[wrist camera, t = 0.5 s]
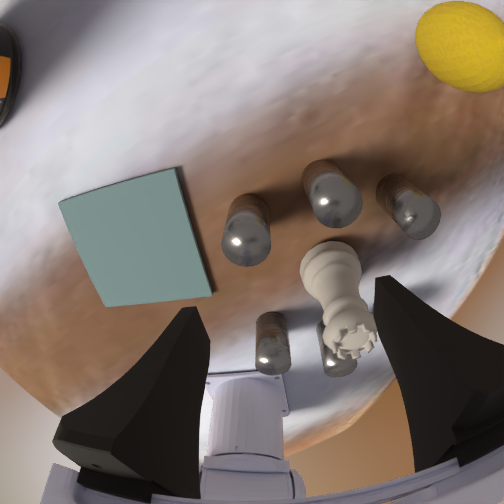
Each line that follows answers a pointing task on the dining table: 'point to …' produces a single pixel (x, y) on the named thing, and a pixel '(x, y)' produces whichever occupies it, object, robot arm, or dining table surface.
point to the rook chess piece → (339, 297)
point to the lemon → (463, 45)
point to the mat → (138, 241)
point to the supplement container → (8, 69)
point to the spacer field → (331, 215)
